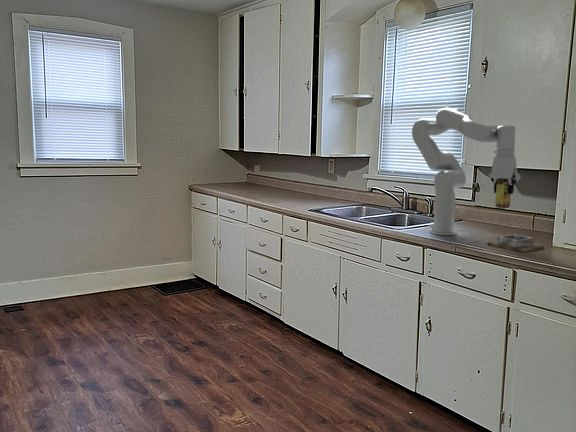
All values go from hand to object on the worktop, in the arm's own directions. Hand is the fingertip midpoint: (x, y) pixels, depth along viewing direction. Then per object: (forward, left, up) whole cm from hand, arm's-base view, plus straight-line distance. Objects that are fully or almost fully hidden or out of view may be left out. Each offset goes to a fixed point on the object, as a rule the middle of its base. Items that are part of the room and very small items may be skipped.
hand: (503, 193), depth 244 cm
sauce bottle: (0, 0, -7) cm, 7 cm away
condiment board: (+8, 0, -23) cm, 25 cm away
